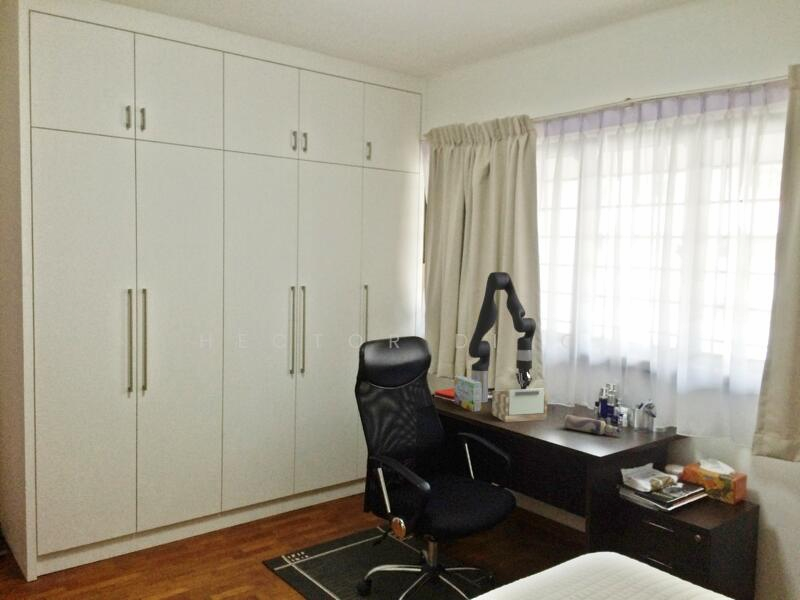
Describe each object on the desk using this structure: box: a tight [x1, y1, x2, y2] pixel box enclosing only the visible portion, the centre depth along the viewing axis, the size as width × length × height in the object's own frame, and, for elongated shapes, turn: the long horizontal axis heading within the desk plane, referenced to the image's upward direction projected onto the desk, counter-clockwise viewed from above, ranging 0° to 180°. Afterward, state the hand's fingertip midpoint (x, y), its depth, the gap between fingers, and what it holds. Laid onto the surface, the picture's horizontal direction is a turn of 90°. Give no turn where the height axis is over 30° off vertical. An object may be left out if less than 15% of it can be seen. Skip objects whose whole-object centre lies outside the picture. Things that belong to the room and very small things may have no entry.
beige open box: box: [491, 389, 548, 423], centre depth 333 cm, size 16×22×12 cm
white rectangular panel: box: [507, 387, 545, 415], centre depth 325 cm, size 2×18×12 cm, turn 106°
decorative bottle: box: [563, 414, 623, 436], centre depth 305 cm, size 26×8×7 cm, turn 53°
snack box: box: [453, 375, 482, 413], centre depth 352 cm, size 21×6×15 cm, turn 23°
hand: (523, 394), depth 328 cm, fingers closed
